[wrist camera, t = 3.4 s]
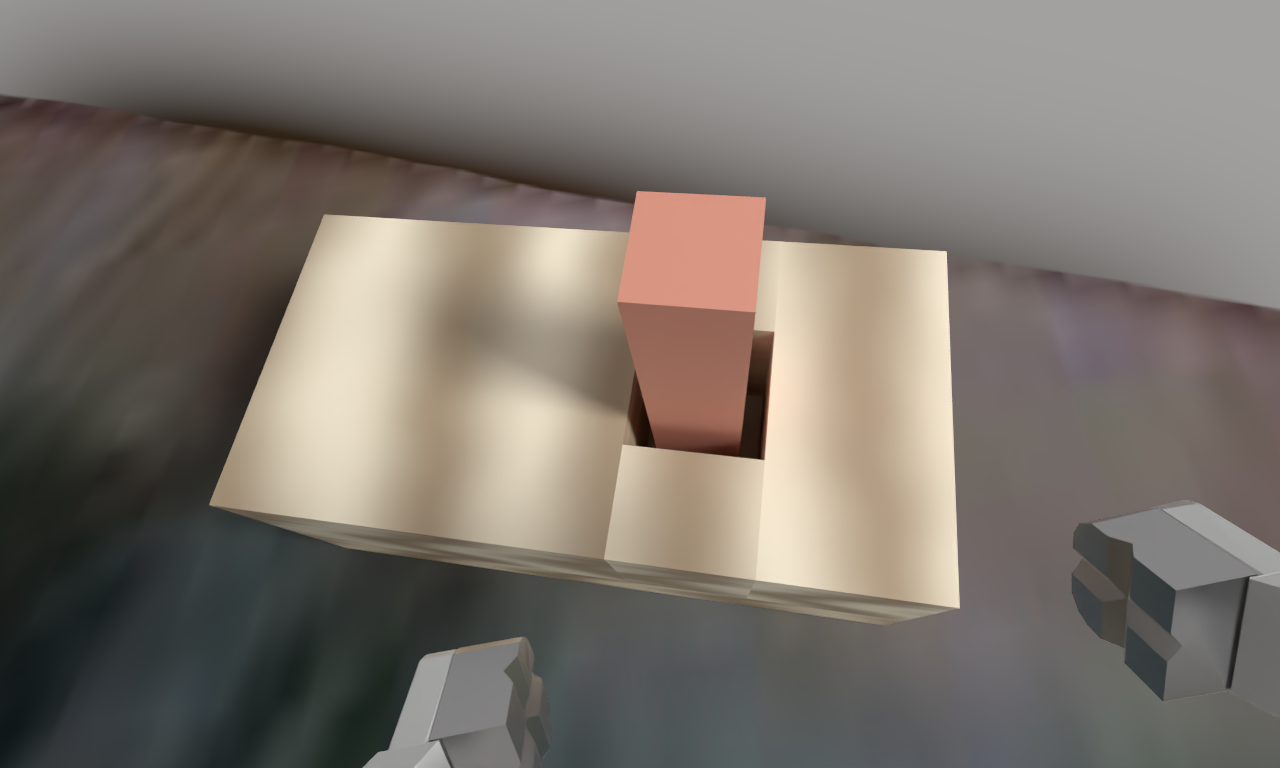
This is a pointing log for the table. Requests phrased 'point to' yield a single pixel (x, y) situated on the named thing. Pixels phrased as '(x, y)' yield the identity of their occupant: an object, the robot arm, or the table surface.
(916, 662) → the table surface
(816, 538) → the beige wooden block
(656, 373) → the salmon pink square peg
